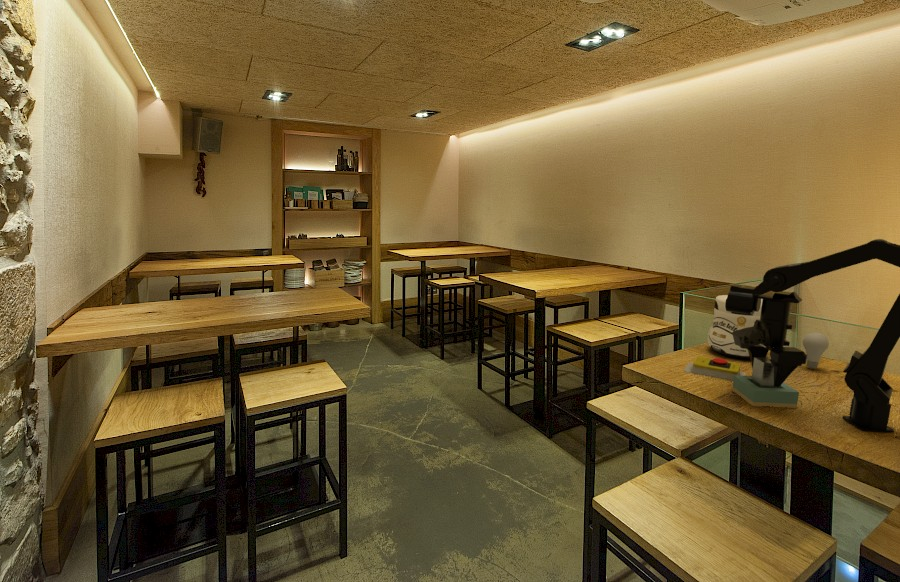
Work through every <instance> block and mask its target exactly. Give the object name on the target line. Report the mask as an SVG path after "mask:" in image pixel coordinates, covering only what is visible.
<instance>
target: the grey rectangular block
mask: <svg viewBox="0 0 900 582" xmlns="http://www.w3.org/2000/svg"><path fill="white" fill-rule="evenodd" d="M769 359H771V357H766V358H764V357H754V363H753V369H752V371H751V376H752V378H751V382H752V383H753V384H755V385H756V386H758V387H759V388H780V387H775V386H774V365H773V364H772V363H771V362H770V361H769Z"/></svg>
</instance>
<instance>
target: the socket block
mask: <svg viewBox="0 0 900 582" xmlns="http://www.w3.org/2000/svg"><path fill="white" fill-rule="evenodd" d="M751 378H752V375H745V376H735V375H734V380H733V381H732V388H731V389H732V391H733V392H734V393H735V394H736V395H738V396H741V398H742V399H743V400H745V401H746V402H747V403H748V404H749V403H750V405H751V406H752V407H762V406H770V407H769V408H785V407H787V408H788V409H790V408H791V409H792V408H793V409H797V408H798V402H799V401H798V400H799V395H800V391H798V390H797V389H795V388H793V387H792V386H790V385H789V384H786V383H785V382H783V383H782V385H781V386H780V388H759V387H758V386H756V385H755V384H753V383H752V382H751ZM772 406H773V407H772ZM787 408H786V409H787Z"/></svg>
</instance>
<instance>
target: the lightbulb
mask: <svg viewBox="0 0 900 582" xmlns="http://www.w3.org/2000/svg"><path fill="white" fill-rule="evenodd" d="M829 344H830V342H829V339H828V338H827V336H825V335H824V334H823V333H819V332H810V333H808V334H806V335H804V338H803V339H802V346H803V348H804V350H805V354H806V355H807V361H806V367H808V368H809V369H810V370H815V369H817V368H818V365H819V362H820V361H821V357H822V356H823V354H824V353H825V352H826V351H827V350H828V347H829V346H830V345H829Z"/></svg>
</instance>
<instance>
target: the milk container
mask: <svg viewBox="0 0 900 582" xmlns="http://www.w3.org/2000/svg"><path fill="white" fill-rule="evenodd" d="M727 297H728V294H722V295H717V296H716V297H715V302H714V308H713V318H712V319H713V320H712V323H711V326H710V327H709V330H708V333H707V342H708V346H709V348H710V349H711V350H713V351H714V352H716V353H718V354H722V355H723V356H729V357H733V358H738V359H750V356H749V352H748V350H747V349H743V348H740V346H738V345H735V342H734V339H733V335H732V332H734V331H737V330H740V329H744V328H747V327H753V326H754V322H755V321H756V320H760V315H761V308H762V300H763V299H761V306H760V309H759V311H758V312H756V311H755V312H754V314H753V315H749V314H742V313H736V312H729V311H726V308H725V303H726V299H727Z"/></svg>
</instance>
